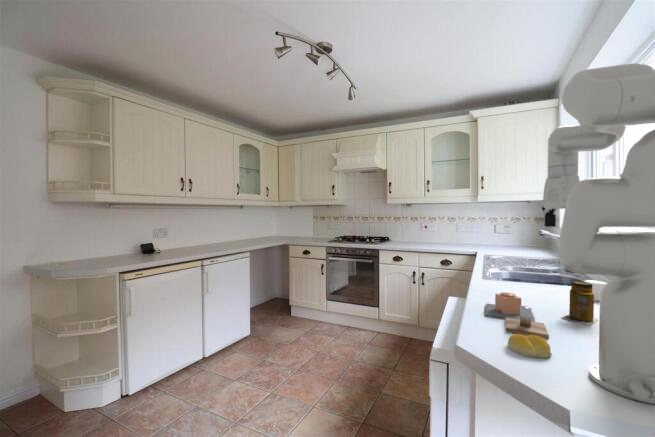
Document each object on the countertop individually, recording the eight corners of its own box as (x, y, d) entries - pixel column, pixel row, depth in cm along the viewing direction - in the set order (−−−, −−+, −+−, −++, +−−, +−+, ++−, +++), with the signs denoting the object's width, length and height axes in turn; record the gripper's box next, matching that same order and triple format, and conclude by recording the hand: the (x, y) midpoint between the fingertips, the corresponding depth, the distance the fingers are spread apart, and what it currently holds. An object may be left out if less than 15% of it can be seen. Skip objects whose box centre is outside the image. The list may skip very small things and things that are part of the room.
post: (531, 328, 86) (531, 309, 86) (520, 326, 88) (520, 307, 88) (530, 324, 89) (531, 306, 89) (519, 323, 90) (519, 305, 90)
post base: (548, 339, 81) (548, 335, 81) (506, 332, 86) (506, 328, 86) (543, 327, 90) (544, 323, 90) (505, 321, 95) (505, 317, 95)
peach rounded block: (502, 314, 100) (502, 296, 100) (492, 308, 105) (493, 291, 105) (523, 314, 100) (523, 296, 100) (513, 308, 105) (513, 291, 105)
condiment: (598, 320, 96) (599, 283, 96) (589, 325, 91) (590, 287, 91) (570, 313, 102) (571, 279, 102) (560, 318, 97) (561, 282, 97)
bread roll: (503, 342, 80) (504, 327, 80) (542, 346, 78) (542, 331, 78) (513, 356, 72) (513, 340, 72) (557, 361, 70) (557, 345, 70)
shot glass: (580, 297, 122) (580, 280, 121) (589, 295, 124) (589, 279, 124) (601, 302, 115) (601, 284, 115) (610, 300, 118) (610, 282, 118)
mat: (535, 323, 93) (535, 321, 93) (484, 316, 100) (484, 314, 100) (530, 311, 105) (531, 309, 105) (486, 304, 112) (486, 303, 112)
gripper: (531, 176, 101) (530, 226, 102) (573, 168, 84) (572, 228, 84) (553, 176, 101) (552, 226, 102) (599, 168, 84) (598, 228, 84)
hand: (561, 227), depth 93 cm, fingers open, 9 cm apart
